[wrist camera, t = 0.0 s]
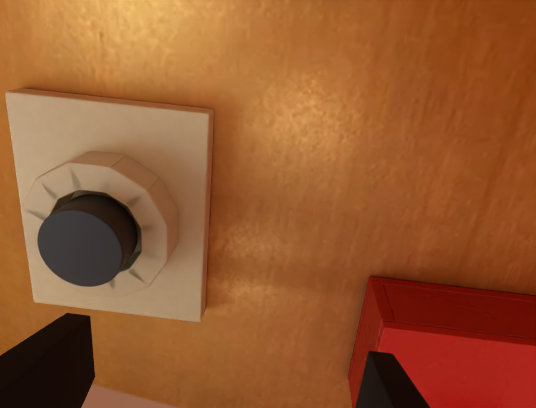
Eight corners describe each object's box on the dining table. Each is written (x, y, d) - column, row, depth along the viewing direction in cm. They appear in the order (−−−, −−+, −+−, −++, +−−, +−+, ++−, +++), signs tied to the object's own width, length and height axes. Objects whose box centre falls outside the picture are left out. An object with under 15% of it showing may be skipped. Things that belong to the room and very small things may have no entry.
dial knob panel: (205, 309, 23) (192, 347, 21) (45, 290, 24) (11, 324, 21) (214, 108, 19) (200, 121, 16) (20, 87, 19) (-26, 96, 17)
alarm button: (139, 270, 20) (124, 292, 18) (62, 261, 20) (41, 282, 18) (137, 198, 18) (121, 214, 17) (55, 189, 18) (31, 204, 17)
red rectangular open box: (544, 400, 24) (584, 459, 21) (347, 375, 24) (355, 429, 21) (590, 301, 22) (642, 351, 18) (369, 275, 22) (381, 319, 18)
